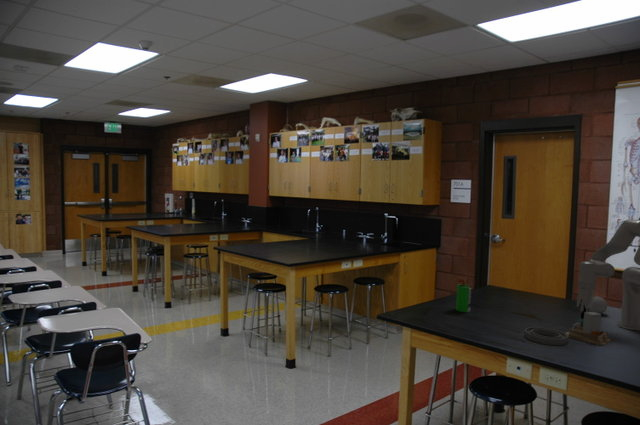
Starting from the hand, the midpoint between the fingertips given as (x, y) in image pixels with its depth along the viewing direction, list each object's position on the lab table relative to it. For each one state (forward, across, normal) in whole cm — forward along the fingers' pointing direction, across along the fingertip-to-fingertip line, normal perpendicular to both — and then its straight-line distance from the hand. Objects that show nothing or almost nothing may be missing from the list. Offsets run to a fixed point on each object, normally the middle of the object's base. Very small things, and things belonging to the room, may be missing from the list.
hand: (584, 320), depth 241 cm
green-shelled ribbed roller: (+4, +23, -56) cm, 61 cm away
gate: (+3, +10, 0) cm, 10 cm away
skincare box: (+3, +19, +9) cm, 21 cm away
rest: (+3, +19, +7) cm, 20 cm away
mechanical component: (+4, +36, -5) cm, 37 cm away
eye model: (+4, -36, -5) cm, 36 cm away
